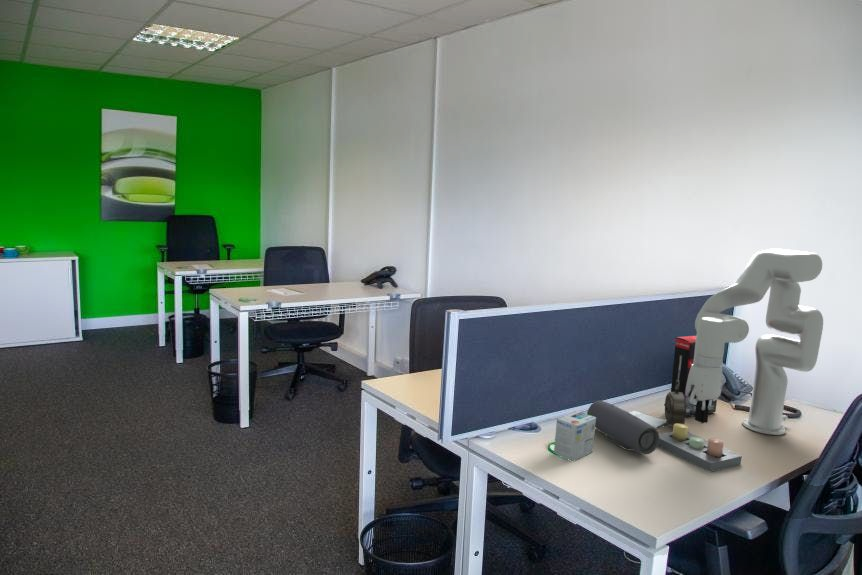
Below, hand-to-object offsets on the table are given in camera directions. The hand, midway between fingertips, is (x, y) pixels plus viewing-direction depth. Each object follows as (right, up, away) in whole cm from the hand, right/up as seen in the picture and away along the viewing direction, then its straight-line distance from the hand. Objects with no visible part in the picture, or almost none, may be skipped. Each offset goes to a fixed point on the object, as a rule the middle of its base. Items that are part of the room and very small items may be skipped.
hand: (700, 421), depth 175 cm
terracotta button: (+2, -9, -5) cm, 10 cm away
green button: (-1, -9, +1) cm, 10 cm away
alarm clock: (0, -7, +21) cm, 22 cm away
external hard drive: (-7, -6, +26) cm, 27 cm away
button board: (-1, -10, +1) cm, 10 cm away
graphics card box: (+13, -5, +36) cm, 39 cm away
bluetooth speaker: (-22, -8, +6) cm, 24 cm away
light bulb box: (-38, -9, -4) cm, 39 cm away
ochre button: (-4, -7, +6) cm, 10 cm away
